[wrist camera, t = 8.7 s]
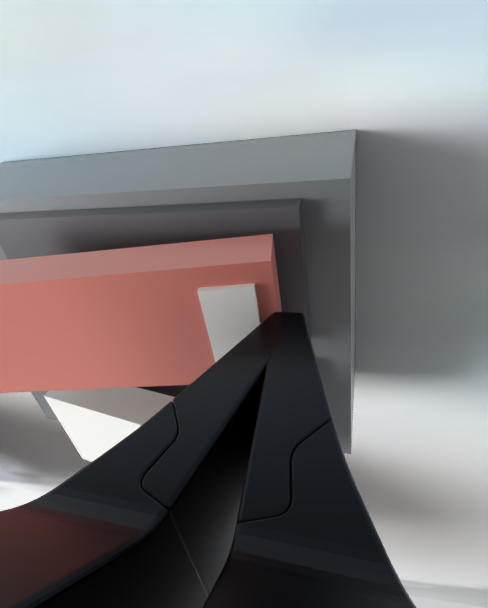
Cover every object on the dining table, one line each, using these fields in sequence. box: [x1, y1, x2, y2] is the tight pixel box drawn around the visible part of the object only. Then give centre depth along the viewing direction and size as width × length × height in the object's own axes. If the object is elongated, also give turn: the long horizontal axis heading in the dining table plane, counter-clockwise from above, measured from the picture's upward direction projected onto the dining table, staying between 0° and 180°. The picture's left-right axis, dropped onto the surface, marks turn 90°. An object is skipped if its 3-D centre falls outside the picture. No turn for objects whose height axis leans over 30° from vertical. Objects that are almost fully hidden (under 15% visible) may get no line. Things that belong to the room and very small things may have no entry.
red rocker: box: [0, 234, 282, 393], centre depth 10 cm, size 8×3×1 cm, turn 99°
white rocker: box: [44, 387, 175, 462], centre depth 13 cm, size 8×3×1 cm, turn 99°
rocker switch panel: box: [0, 130, 356, 454], centre depth 16 cm, size 17×10×4 cm, turn 99°
